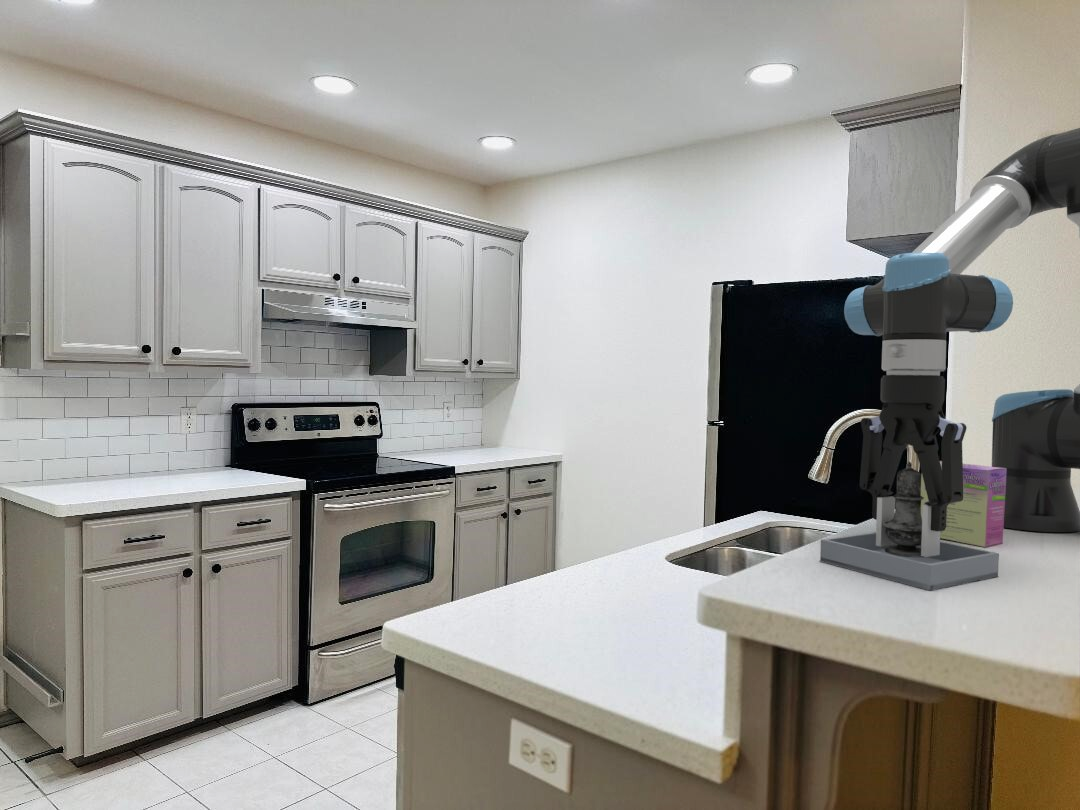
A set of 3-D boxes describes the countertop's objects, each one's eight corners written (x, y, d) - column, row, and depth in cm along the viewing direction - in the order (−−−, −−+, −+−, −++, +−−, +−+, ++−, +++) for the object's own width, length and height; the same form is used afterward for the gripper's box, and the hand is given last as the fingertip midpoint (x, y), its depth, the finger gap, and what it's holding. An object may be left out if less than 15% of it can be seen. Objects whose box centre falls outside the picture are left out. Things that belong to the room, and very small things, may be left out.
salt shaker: (937, 559, 98) (940, 465, 98) (887, 556, 99) (890, 463, 99) (924, 549, 104) (927, 460, 104) (877, 546, 105) (880, 458, 105)
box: (1004, 543, 119) (1007, 467, 118) (985, 548, 115) (988, 469, 115) (937, 531, 127) (939, 460, 127) (918, 535, 124) (920, 462, 123)
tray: (886, 550, 112) (887, 530, 112) (998, 576, 98) (998, 553, 98) (820, 561, 105) (820, 539, 105) (930, 590, 91) (931, 565, 91)
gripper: (833, 373, 107) (828, 539, 108) (966, 373, 91) (959, 569, 92) (868, 373, 111) (863, 534, 112) (1002, 374, 95) (995, 562, 95)
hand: (906, 549), depth 102 cm, fingers closed on salt shaker, 6 cm apart
